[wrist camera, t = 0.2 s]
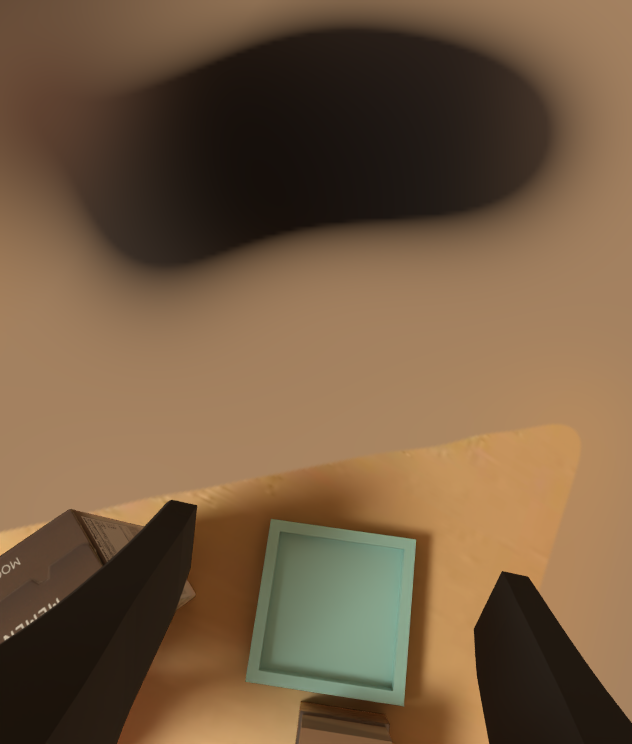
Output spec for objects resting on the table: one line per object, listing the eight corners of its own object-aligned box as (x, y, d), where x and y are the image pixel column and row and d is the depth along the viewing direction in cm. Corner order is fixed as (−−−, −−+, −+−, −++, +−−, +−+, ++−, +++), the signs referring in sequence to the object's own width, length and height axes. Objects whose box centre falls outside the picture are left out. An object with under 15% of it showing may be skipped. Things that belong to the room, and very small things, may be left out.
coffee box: (92, 676, 39) (-48, 750, 24) (51, 598, 41) (-105, 621, 26) (200, 595, 41) (133, 617, 26) (156, 524, 43) (69, 504, 27)
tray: (400, 700, 39) (403, 706, 37) (247, 676, 39) (245, 681, 38) (412, 540, 42) (416, 539, 41) (272, 520, 43) (271, 518, 41)
